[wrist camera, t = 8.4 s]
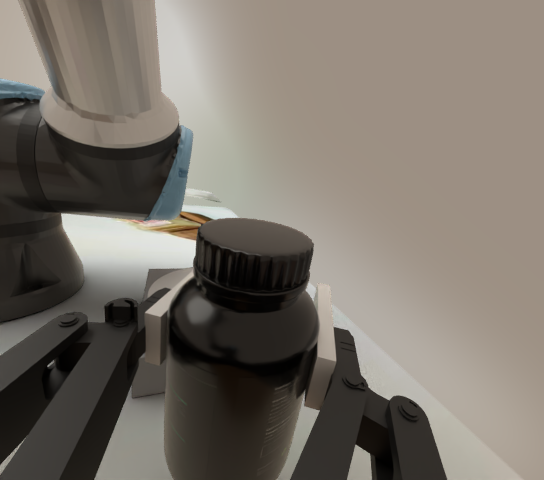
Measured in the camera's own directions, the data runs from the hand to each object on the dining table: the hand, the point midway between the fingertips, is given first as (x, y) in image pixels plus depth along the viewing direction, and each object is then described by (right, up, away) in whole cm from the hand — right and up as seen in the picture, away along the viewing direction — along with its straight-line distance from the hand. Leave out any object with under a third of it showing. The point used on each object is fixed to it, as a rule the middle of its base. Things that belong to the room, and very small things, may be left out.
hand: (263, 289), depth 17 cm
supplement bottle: (-2, -8, -3) cm, 8 cm away
